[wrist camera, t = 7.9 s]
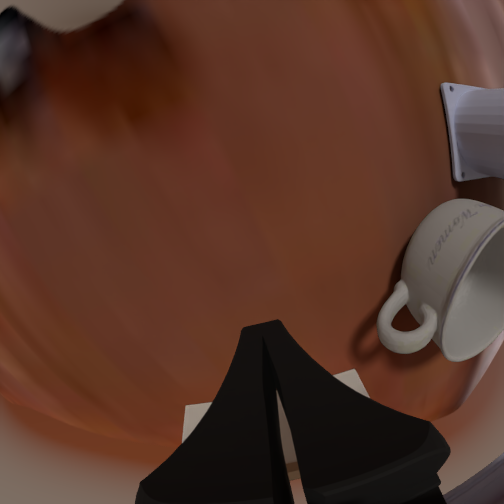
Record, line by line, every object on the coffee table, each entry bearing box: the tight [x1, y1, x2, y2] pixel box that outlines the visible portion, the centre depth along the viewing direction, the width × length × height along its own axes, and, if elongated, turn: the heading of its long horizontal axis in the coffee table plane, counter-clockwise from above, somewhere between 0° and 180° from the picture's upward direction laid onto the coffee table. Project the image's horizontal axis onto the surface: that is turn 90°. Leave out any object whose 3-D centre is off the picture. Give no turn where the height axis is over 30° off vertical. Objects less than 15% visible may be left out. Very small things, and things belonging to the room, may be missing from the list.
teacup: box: [377, 199, 504, 362], centre depth 16 cm, size 14×11×8 cm
